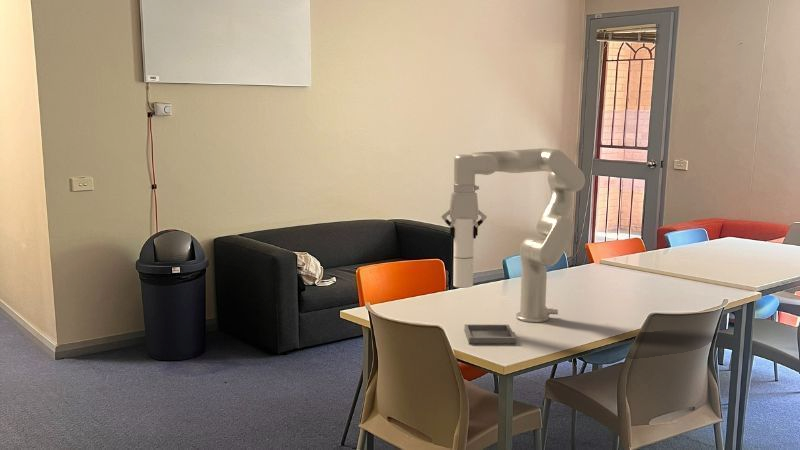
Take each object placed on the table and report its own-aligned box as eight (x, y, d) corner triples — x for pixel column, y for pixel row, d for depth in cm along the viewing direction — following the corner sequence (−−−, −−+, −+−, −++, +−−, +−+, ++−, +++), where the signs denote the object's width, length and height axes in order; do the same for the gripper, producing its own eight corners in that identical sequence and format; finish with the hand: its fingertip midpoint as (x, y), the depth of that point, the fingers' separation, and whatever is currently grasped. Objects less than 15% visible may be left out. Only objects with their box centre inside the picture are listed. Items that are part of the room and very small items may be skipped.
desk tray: (508, 331, 272) (508, 324, 271) (515, 344, 256) (515, 337, 256) (464, 330, 271) (464, 324, 271) (469, 344, 256) (469, 337, 255)
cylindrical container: (471, 283, 278) (472, 216, 274) (473, 287, 270) (474, 219, 267) (452, 283, 277) (453, 216, 274) (454, 287, 270) (454, 219, 267)
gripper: (487, 188, 272) (486, 236, 275) (439, 188, 272) (439, 236, 275) (489, 190, 265) (488, 239, 267) (440, 190, 265) (440, 239, 268)
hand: (463, 237), depth 271 cm, fingers closed on cylindrical container, 7 cm apart
